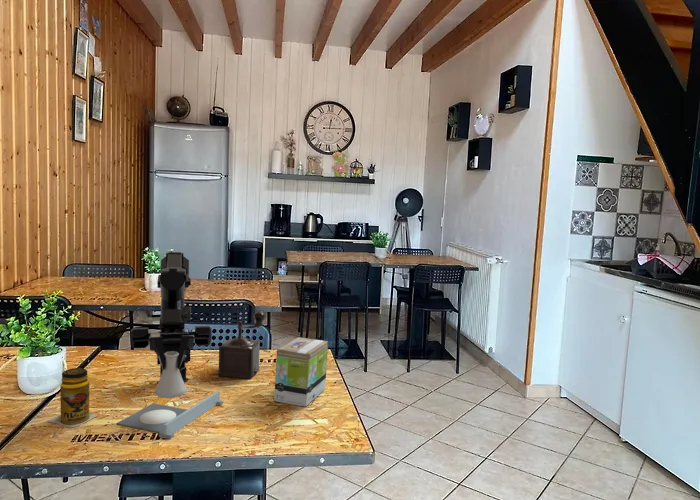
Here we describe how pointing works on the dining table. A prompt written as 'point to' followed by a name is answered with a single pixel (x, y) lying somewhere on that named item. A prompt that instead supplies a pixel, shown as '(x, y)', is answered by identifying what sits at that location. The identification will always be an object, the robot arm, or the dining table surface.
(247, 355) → the dark wooden grinder box
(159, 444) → the dining table surface
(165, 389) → the flask
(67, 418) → the condiment
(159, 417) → the resting mat
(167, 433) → the grey footed bar
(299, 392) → the tea box
